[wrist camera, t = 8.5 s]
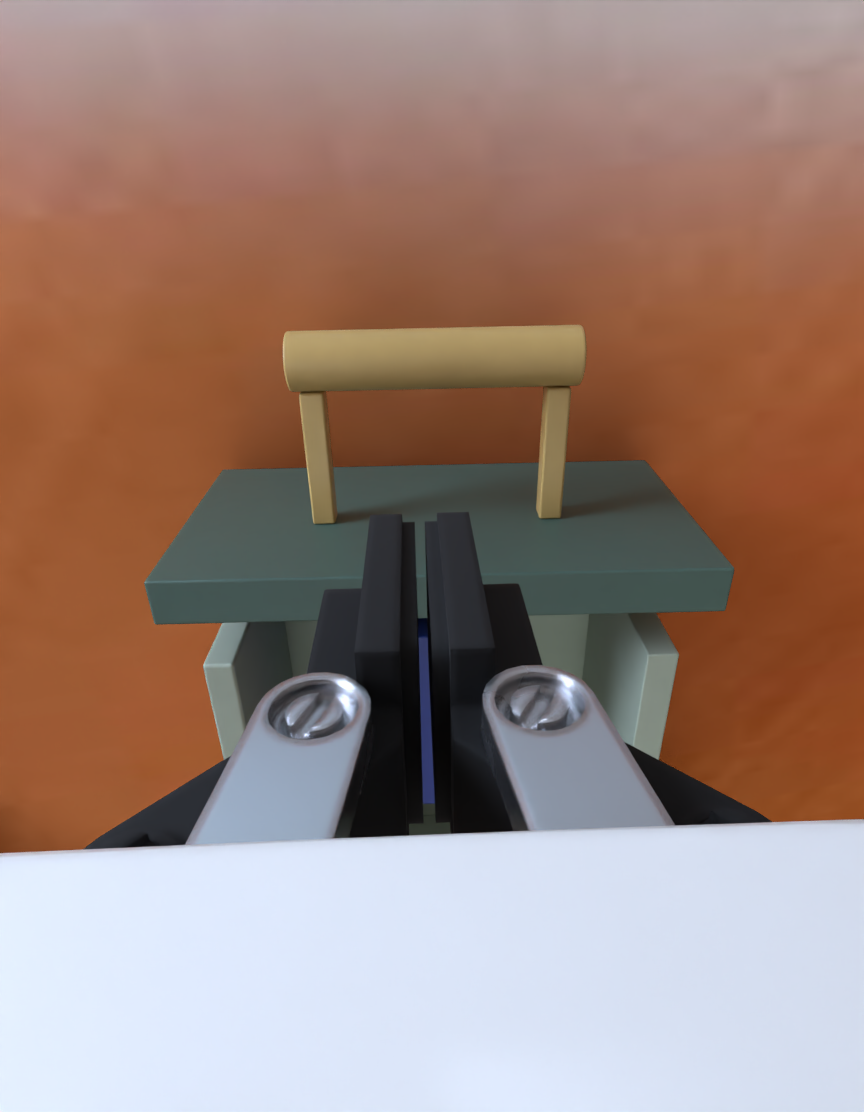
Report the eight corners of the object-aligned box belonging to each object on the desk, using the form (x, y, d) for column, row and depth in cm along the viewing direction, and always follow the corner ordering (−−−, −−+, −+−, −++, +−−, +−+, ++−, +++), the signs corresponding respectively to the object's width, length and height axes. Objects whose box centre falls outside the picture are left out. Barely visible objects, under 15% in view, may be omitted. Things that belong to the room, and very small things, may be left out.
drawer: (194, 308, 19) (86, 365, 13) (668, 298, 19) (785, 349, 13) (282, 809, 29) (244, 978, 23) (597, 801, 29) (646, 968, 23)
